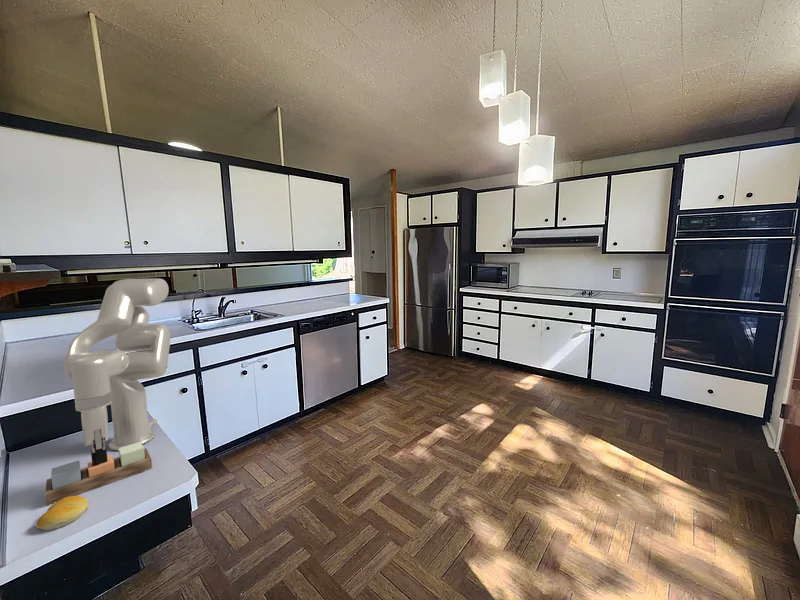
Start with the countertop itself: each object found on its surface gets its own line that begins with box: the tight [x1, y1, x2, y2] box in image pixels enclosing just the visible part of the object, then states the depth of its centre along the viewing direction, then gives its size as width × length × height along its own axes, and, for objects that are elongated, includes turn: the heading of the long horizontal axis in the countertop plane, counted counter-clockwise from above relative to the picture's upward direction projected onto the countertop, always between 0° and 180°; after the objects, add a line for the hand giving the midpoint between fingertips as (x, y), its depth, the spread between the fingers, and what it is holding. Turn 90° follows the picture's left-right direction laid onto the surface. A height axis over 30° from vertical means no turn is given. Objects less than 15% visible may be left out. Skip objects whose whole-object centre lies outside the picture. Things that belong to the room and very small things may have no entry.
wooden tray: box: [44, 447, 153, 506], centre depth 96 cm, size 22×9×3 cm, turn 135°
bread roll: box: [36, 495, 90, 531], centre depth 81 cm, size 8×9×4 cm
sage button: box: [118, 442, 145, 467], centre depth 101 cm, size 5×5×4 cm
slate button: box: [50, 459, 81, 490], centre depth 91 cm, size 5×5×4 cm
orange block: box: [87, 454, 115, 478], centre depth 96 cm, size 5×5×4 cm
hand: (100, 463), depth 95 cm, fingers closed
